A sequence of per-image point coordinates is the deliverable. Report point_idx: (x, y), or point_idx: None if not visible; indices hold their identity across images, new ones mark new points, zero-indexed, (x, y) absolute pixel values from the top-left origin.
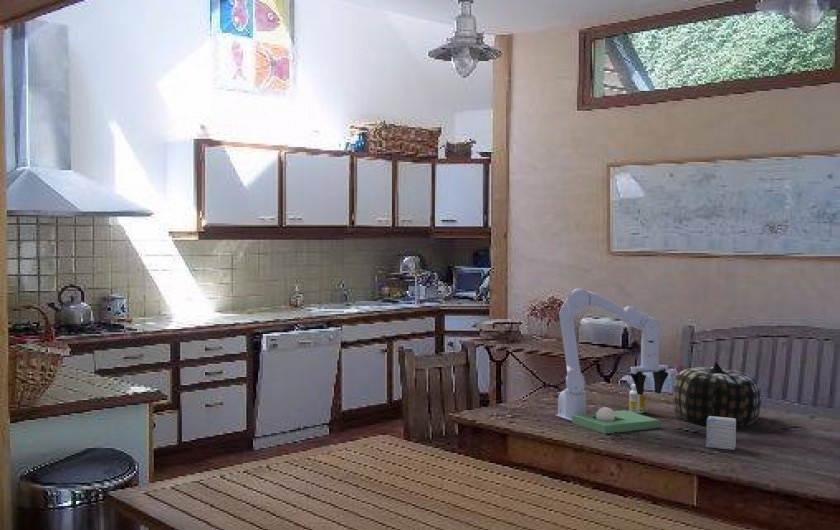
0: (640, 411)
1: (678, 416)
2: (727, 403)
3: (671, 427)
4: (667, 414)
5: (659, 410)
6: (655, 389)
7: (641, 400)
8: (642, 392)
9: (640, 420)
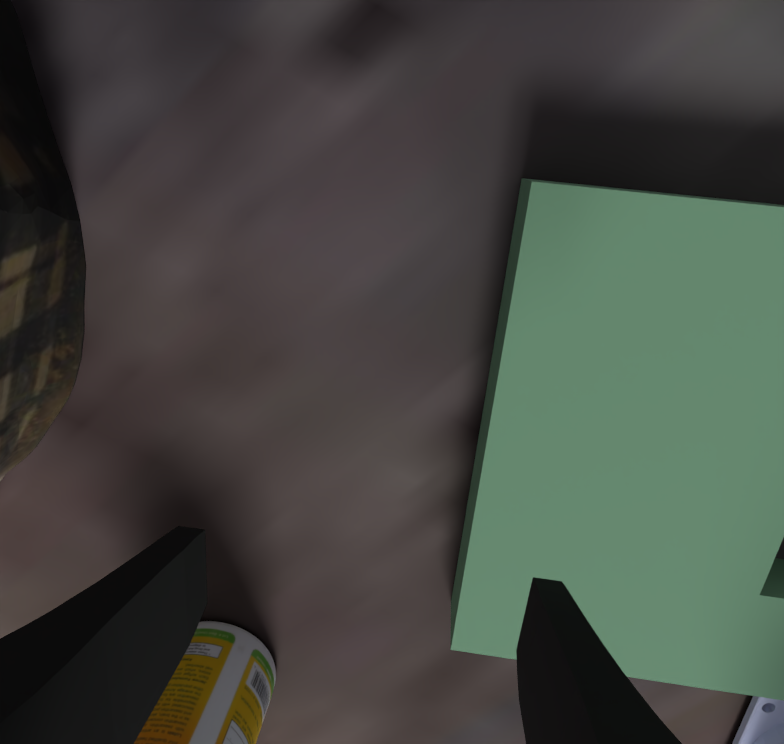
0: (229, 633)
1: (59, 360)
2: None
3: (397, 121)
4: (54, 505)
5: (26, 615)
6: (188, 631)
7: (182, 712)
8: (563, 601)
9: (743, 274)
